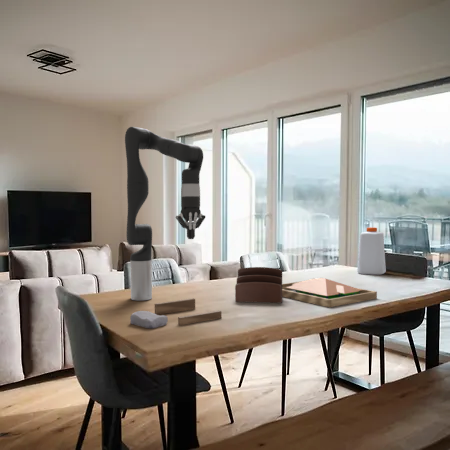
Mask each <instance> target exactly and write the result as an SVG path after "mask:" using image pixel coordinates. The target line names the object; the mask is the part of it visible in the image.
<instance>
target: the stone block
mask: <svg viewBox="0 0 450 450" xmlns="http://www.w3.org/2000/svg"><path fill="white" fill-rule="evenodd" d="M129 318H130V319H129V320H130V324H131V325H133V326H134V325H135V326H138V327H141V328H144V329H155V328H159V327H163V326H166V325H167V323H168V321H169V320H168V315H164V314H161V315H160V314H159V315H156V314H155V312H151V311H148V310H138V311H137V310H136V311H135V312H133V313H131V315H130V317H129Z"/></svg>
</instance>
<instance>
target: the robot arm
mask: <svg viewBox="0 0 450 450" xmlns="http://www.w3.org/2000/svg"><path fill="white" fill-rule="evenodd" d="M124 144H125V155H126V171H127V172H126V173H127V174H126V175H127V176H126V195H127V196H126V197H127V219H126V220H127V221H126V242H127V244H128V245H130V246H142V247H141V248H140V249H139V250H137V251H135V252H133V253H132V252H131V254H130V261H129V262H130V265H129V266H130V300H132V301H138V302H139V301H149V300H152V299H153V280H152V279H153V274H152V273H153V268H152V266H153V265H152V264H153V263H152V255H153V254H152V253H153V248H152V247H153V229H152V226H151V224H148V223H136V219H137V216H138V213H139V212H140V210H141V209H142V207H143V205H144V203H145V202H146V200H147V199H148V196H149V188H150V187H149V178H148V175H147V172H146V170H145V169H144V167H143V165H142V162H141V159H140V150H152V151H153V150H154V151H157V152H159V153H160V154H162V155H164V156H166V157H170V158H172V159H176V160H177V161H180V162H182V163H187V164H188V167H187V168H185V169H183V170H182V171H181V188H180V189H181V190H180V207H181V210H180V214H178V215H176V216H175V219H176V220H177V222H178V223H179V224H180V226H181V227H182V228H183V229H185V230H186V237H187V240H194V238H195V237H196V229H199V227H200V226H201V225H202V223H203V222H204V221H205V219H206V215H203V213H201V209H200V207H201V187H200V186H201V185H200V173H201V171H202V165H203V161H204V152H203V149H202V148H201V147H200V146H199V145H194V144H186V143H182V141H179V140H176V139H172V138H169V137H164V136H160V135H158V134H156V133H154V131H153V132H152V131H151V130H149V129H147V128H144V127H138V126H130V127H128V128H127V129H126V132H125V135H124Z"/></svg>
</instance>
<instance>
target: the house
mask: <svg viewBox="0 0 450 450" xmlns="http://www.w3.org/2000/svg"><path fill="white" fill-rule="evenodd" d="M297 282H298V283H295V284H292V286H289V287H286V288H290V290H293V291H294V292H298V293H302V294H304V293H305V294H307V295H312V296H316V295H317V297H321V298H325V297H327V299H330V297H331V299H333V298H339V297H344V296H350V295H355V293H356V292H360V291H362V290H360V289H361V288H359V289H357V287H354V286H351V285H347V284H343V283H341V282H337V281H334V280H331V279H328V278H324V277H319V278H318V277H317V278H314V277H313V278H310V279H306V280H302V282H300V281H297ZM353 293H354V294H353ZM358 294H359V293H358Z"/></svg>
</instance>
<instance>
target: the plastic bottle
mask: <svg viewBox="0 0 450 450" xmlns="http://www.w3.org/2000/svg"><path fill="white" fill-rule="evenodd" d="M358 243H359V244H358V259H357V269H356V270H357V273H358V274H359V275H370V276H371V275H372V276H380V275H384V274H385V273H386V271H387V269H386V268H387V267H386V265H387V264H386V254H385V251H386V250H385V238H384V233H383V232H381V231H378V228H377V227H371V226H370V227H366V231H362V232H360V234H359V242H358Z"/></svg>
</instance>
